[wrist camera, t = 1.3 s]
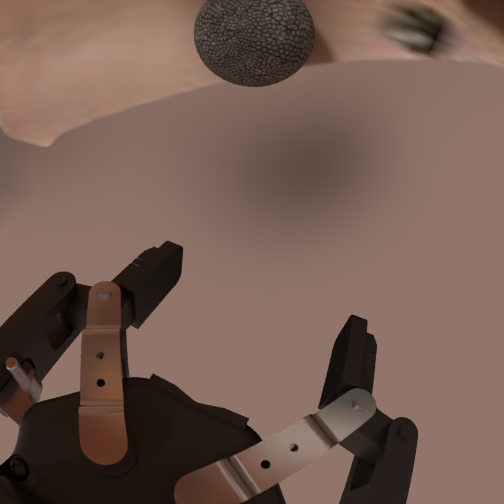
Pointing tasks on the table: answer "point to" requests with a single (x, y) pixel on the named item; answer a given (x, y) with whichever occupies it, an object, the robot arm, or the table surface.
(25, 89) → the table surface
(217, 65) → the decorative ball
